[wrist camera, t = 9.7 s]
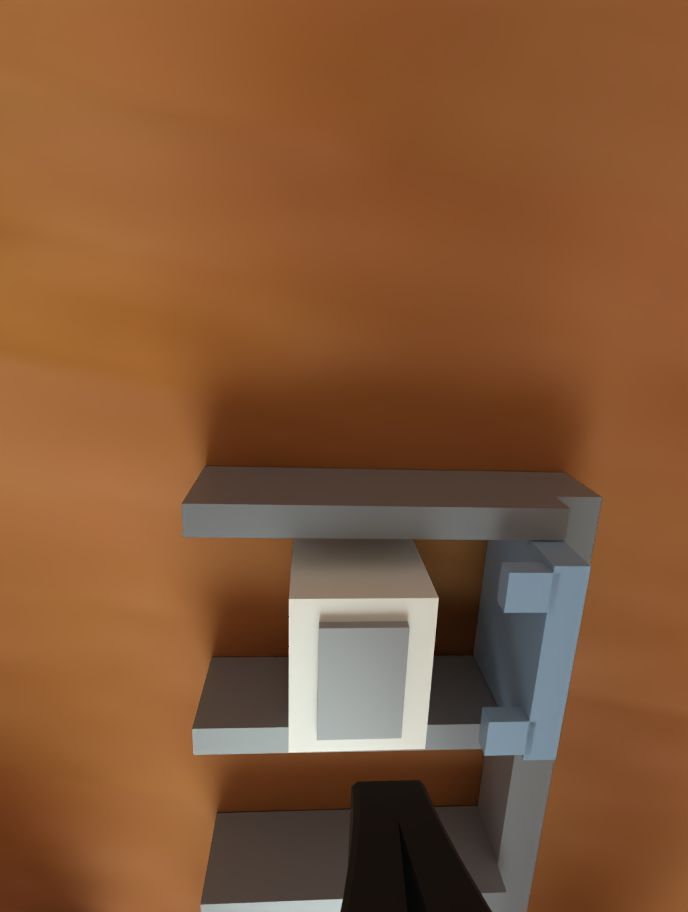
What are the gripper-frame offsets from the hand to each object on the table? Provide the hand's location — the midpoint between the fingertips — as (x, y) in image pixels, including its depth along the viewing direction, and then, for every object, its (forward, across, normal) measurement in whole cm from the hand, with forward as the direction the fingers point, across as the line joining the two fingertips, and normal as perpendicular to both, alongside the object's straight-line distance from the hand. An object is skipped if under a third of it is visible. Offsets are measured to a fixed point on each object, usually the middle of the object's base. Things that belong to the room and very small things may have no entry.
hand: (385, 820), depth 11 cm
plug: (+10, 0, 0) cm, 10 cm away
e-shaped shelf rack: (+9, -1, +7) cm, 12 cm away
